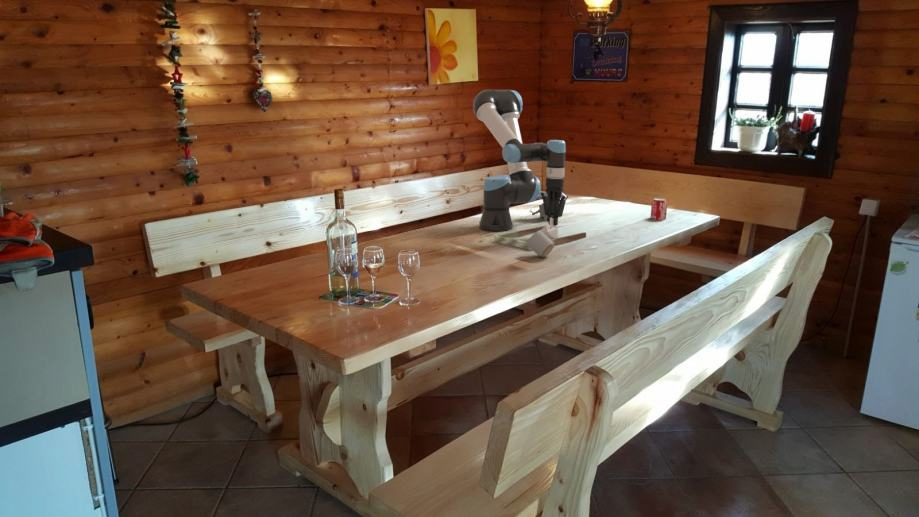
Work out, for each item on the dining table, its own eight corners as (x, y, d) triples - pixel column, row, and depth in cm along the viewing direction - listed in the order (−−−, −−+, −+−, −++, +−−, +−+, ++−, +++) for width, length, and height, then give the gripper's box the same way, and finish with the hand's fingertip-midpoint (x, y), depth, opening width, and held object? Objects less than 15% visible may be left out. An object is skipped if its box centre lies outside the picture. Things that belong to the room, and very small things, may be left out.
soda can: (667, 223, 320) (669, 198, 317) (663, 226, 314) (665, 200, 311) (652, 222, 324) (654, 197, 321) (648, 224, 318) (650, 199, 315)
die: (562, 234, 282) (561, 225, 273) (554, 253, 280) (553, 245, 271) (543, 227, 285) (542, 219, 275) (535, 246, 283) (533, 238, 273)
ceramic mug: (540, 262, 252) (546, 249, 247) (524, 248, 255) (529, 235, 249) (557, 248, 258) (563, 235, 252) (541, 235, 261) (546, 222, 255)
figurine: (541, 220, 327) (542, 189, 324) (560, 223, 319) (561, 191, 315) (529, 222, 321) (530, 191, 317) (548, 225, 313) (549, 193, 309)
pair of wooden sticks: (493, 241, 279) (494, 235, 278) (546, 230, 302) (547, 225, 301) (533, 250, 264) (533, 244, 263) (585, 238, 287) (586, 232, 286)
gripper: (537, 176, 284) (535, 231, 290) (561, 179, 275) (559, 236, 280) (548, 175, 289) (546, 229, 295) (573, 178, 280) (570, 233, 285)
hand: (552, 232), depth 288 cm, fingers closed
